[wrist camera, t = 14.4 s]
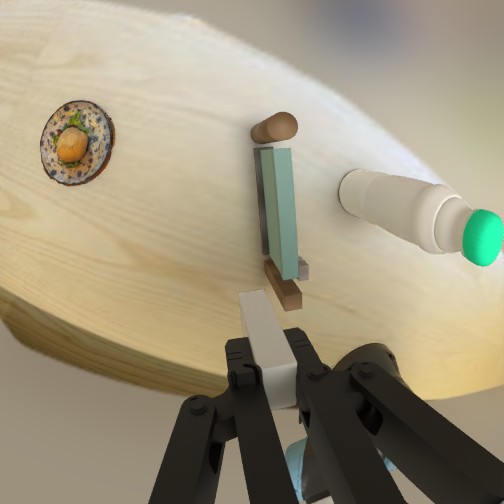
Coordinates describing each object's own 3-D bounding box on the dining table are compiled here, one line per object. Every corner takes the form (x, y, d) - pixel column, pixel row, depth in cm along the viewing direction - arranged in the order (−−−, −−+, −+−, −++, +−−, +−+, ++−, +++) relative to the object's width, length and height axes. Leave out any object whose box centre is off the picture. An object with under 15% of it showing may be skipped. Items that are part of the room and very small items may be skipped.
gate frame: (291, 269, 42) (318, 305, 32) (262, 273, 42) (281, 312, 32) (282, 122, 35) (312, 111, 25) (250, 124, 35) (268, 112, 24)
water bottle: (340, 219, 41) (466, 294, 18) (333, 172, 38) (474, 208, 15) (378, 209, 42) (507, 268, 18) (373, 165, 39) (514, 195, 16)
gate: (258, 150, 34) (273, 149, 27) (272, 149, 35) (290, 147, 27) (268, 256, 39) (283, 280, 32) (281, 254, 40) (298, 277, 32)
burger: (78, 87, 29) (54, 76, 22) (133, 132, 33) (116, 127, 26) (32, 155, 30) (4, 158, 23) (82, 201, 34) (59, 213, 27)
